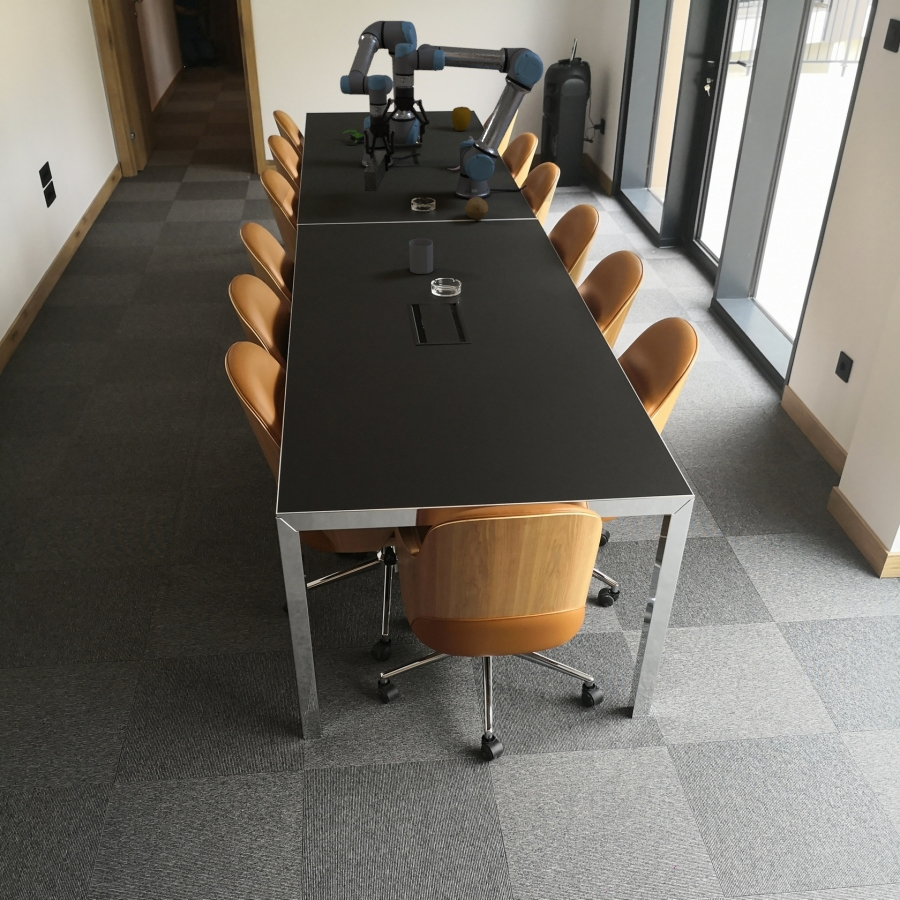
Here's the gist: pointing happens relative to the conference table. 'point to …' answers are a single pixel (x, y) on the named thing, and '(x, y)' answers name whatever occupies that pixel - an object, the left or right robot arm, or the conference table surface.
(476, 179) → the right robot arm
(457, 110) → the yellow bell pepper
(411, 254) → the cup
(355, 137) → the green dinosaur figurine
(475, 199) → the potato
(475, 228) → the conference table surface
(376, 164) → the bar
